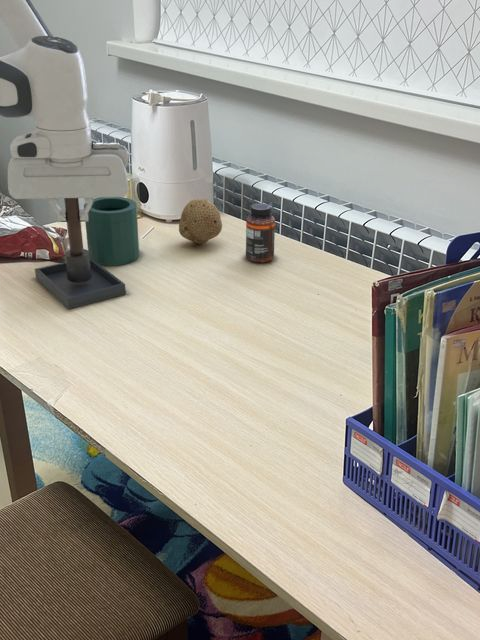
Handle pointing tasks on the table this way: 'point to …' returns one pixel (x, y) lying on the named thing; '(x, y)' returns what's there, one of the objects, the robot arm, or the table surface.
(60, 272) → the tray
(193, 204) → the natural sponge
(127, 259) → the jar
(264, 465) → the table surface
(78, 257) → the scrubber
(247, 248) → the supplement bottle
